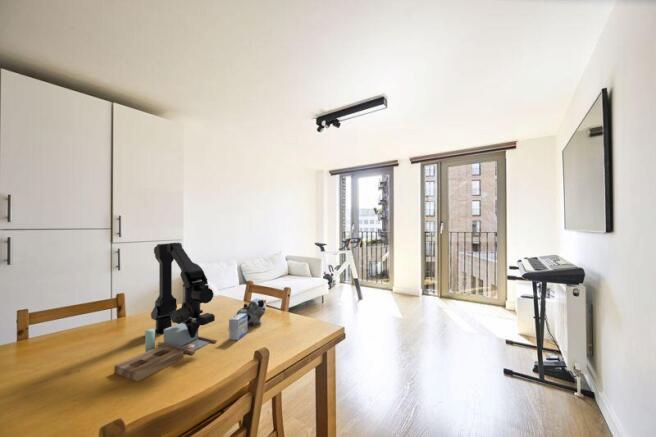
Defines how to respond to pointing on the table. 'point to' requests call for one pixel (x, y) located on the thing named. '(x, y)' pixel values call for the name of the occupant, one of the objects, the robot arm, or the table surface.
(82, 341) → the table surface
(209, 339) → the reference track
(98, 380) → the table surface
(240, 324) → the medicine box
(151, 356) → the board
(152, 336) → the teal peg
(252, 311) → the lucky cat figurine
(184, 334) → the cover
